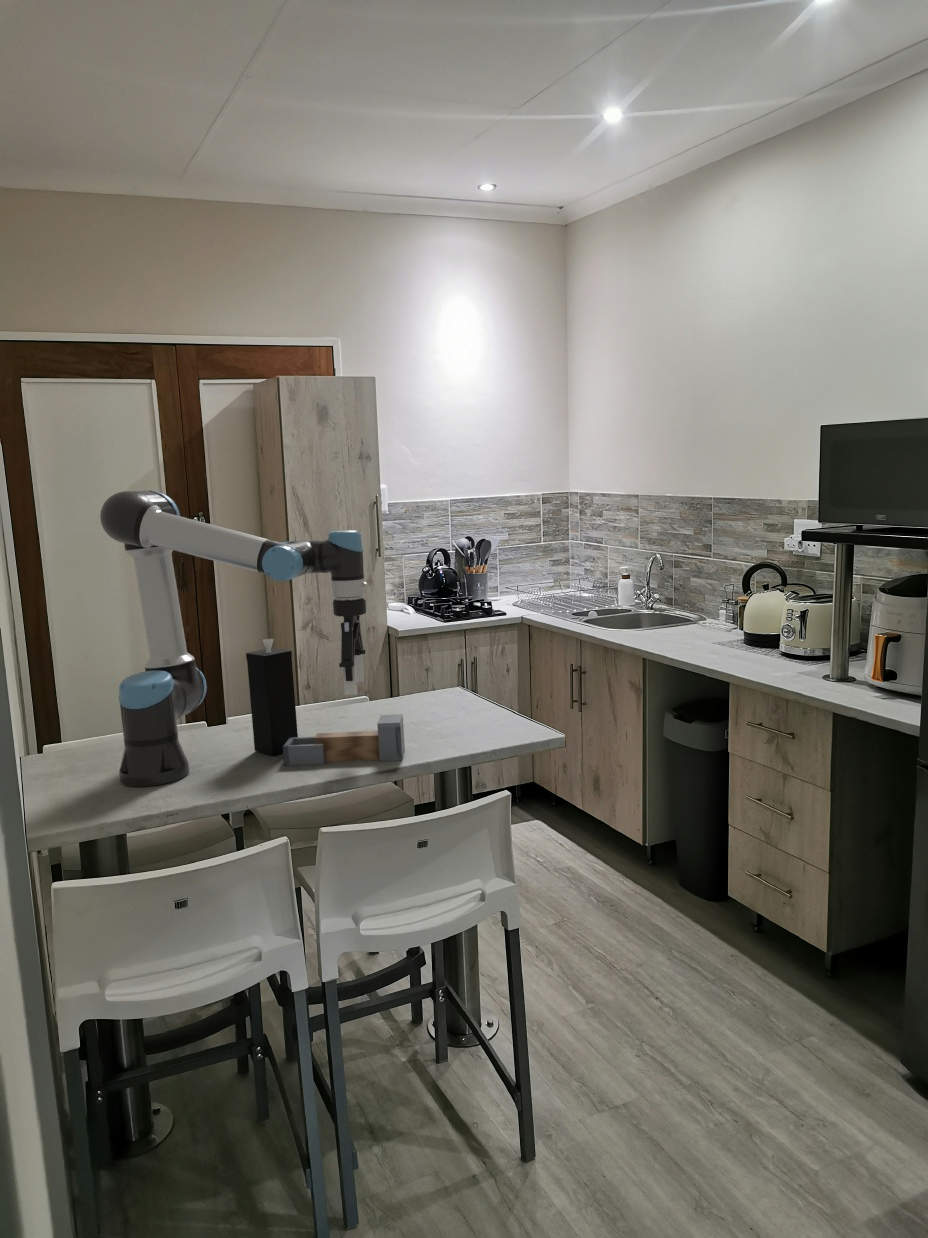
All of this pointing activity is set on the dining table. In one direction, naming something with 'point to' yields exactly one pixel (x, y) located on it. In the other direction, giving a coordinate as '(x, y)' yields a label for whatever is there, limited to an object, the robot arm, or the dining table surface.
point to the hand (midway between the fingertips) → (354, 688)
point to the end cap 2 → (391, 737)
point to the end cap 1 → (303, 751)
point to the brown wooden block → (349, 745)
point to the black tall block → (271, 698)
